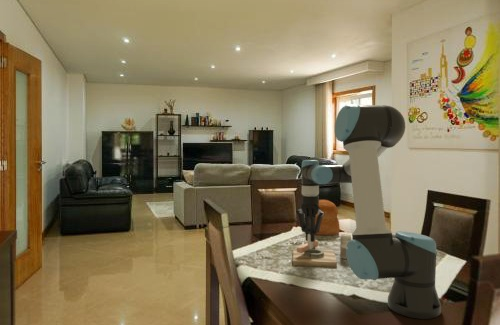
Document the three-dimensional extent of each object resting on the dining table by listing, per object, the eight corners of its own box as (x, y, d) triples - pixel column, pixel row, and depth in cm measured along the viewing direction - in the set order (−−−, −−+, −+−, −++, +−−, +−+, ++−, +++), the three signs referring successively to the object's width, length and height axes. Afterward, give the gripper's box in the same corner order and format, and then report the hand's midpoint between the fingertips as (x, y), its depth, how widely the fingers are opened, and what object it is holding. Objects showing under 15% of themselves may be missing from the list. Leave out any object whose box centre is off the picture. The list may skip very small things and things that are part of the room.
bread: (332, 225, 235) (333, 197, 234) (341, 236, 208) (341, 204, 208) (307, 225, 235) (307, 197, 234) (312, 235, 209) (312, 204, 208)
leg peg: (351, 259, 167) (351, 236, 166) (340, 258, 168) (341, 236, 167) (349, 256, 171) (350, 234, 171) (339, 255, 172) (340, 233, 171)
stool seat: (336, 267, 156) (336, 258, 156) (292, 265, 159) (292, 256, 158) (333, 254, 174) (333, 246, 174) (293, 252, 176) (293, 244, 176)
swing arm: (311, 244, 177) (311, 238, 177) (319, 245, 174) (319, 239, 174) (295, 251, 164) (295, 245, 164) (303, 253, 162) (303, 247, 162)
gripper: (327, 195, 166) (327, 248, 167) (301, 193, 174) (301, 244, 174) (319, 196, 160) (319, 252, 161) (293, 195, 167) (293, 248, 168)
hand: (310, 248), depth 167 cm, fingers closed
